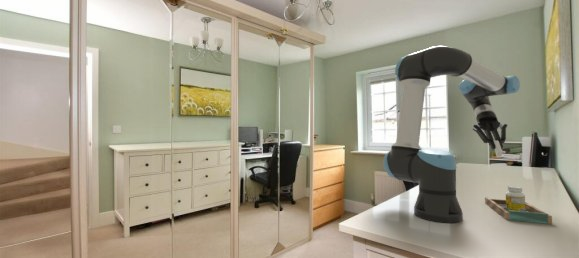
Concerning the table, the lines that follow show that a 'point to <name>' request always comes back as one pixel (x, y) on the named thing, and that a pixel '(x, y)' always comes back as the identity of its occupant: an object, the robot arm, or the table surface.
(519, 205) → the supplement bottle
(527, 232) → the table surface
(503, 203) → the wooden tray
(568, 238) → the table surface
